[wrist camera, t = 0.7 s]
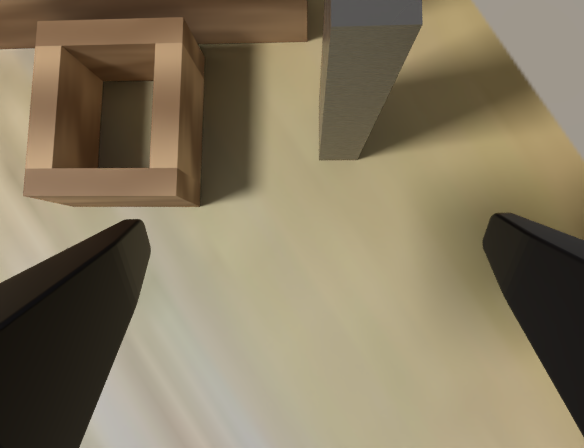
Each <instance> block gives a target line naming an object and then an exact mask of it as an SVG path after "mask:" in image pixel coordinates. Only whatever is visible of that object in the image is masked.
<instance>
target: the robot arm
mask: <svg viewBox="0 0 584 448" xmlns="http://www.w3.org/2000/svg"><path fill="white" fill-rule="evenodd" d="M483 249H484V251H485V254H486V256H487V258H488V261H489V263H490V265H491V268H492V270H493V273H494V275H495V277H496V280H497V282H498V284H499V287H500V289H501V291H502V293H503V295H504V297H505V299H506V301H507V303H508V305H509V307H510V308H511V310H512V312H513V314H514V315H515V317H516V319H517V321H518V322H519V324H520V326H521V328H522V329H523V331H524V333H525V335H526V336H527V338H528V340H529V342H530V343H531V345H532V347H533V349H534V351H535V352H536V354H537V356H538V358H539V359H540V361H541V363H542V365H543V366H544V368H545V370H546V372H547V373H548V375H549V377H550V379H551V380H552V382H553V384H554V386H555V387H556V389H557V391H558V393H559V394H560V396H561V398H562V400H563V401H564V403H565V405H566V407H567V409H568V410H569V412H570V414H571V416H572V417H573V419H574V421H575V423H576V424H577V426H578V428H579V430H580V431H581V433H582V435H583V437H584V240H581V239H579V238H576V237H573V236H571V235H568V234H565V233H563V232H560V231H557V230H555V229H552V228H550V227H547V226H544V225H542V224H539V223H536V222H534V221H531V220H529V219H526V218H523V217H521V216H518V215H515V214H513V213H495V214H493V215H492V216H491V218H490V220H489V223H488V226H487V229H486V232H485V235H484V238H483ZM150 252H151V248H150V243H149V239H148V236H147V232H146V229H145V225H144V223H143V221H142V220H140V219H126V220H123V221H121V222H119V223H117V224H115V225H113V226H111V227H109V228H107V229H105V230H103V231H101V232H99V233H97V234H95V235H94V236H92V237H90V238H88V239H86V240H84V241H82V242H80V243H78V244H76V245H74V246H72V247H70V248H68V249H66V250H64V251H62V252H60V253H58V254H56V255H54V256H52V257H50V258H48V259H46V260H45V261H43V262H41V263H39V264H37V265H35V266H33V267H31V268H29V269H27V270H25V271H23V272H21V273H19V274H17V275H15V276H13V277H11V278H9V279H7V280H5V281H3V282H1V283H0V448H79V447H80V444H81V442H82V439H83V437H84V435H85V432H86V430H87V427H88V425H89V422H90V420H91V417H92V415H93V412H94V410H95V407H96V405H97V402H98V400H99V397H100V395H101V392H102V390H103V387H104V385H105V382H106V380H107V377H108V375H109V373H110V370H111V368H112V365H113V363H114V360H115V358H116V355H117V353H118V350H119V348H120V345H121V343H122V340H123V338H124V335H125V333H126V330H127V328H128V325H129V323H130V320H131V318H132V316H133V313H134V310H135V308H136V305H137V302H138V299H139V295H140V291H141V288H142V284H143V280H144V276H145V273H146V269H147V265H148V261H149V258H150Z"/></svg>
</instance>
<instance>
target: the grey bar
mask: <svg viewBox="0 0 584 448" xmlns="http://www.w3.org/2000/svg"><path fill="white" fill-rule="evenodd" d="M421 26H422V0H325V5H324V23H323V41H322V59H321V77H320V95H319V160H357V159H358V157H359V155H360V153H361V151H362V149H363V147H364V145H365V143H366V141H367V139H368V136H369V134H370V132H371V130H372V128H373V126H374V124H375V122H376V120H377V118H378V116H379V114H380V112H381V109H382V107H383V105H384V103H385V101H386V99H387V97H388V95H389V93H390V91H391V89H392V87H393V84H394V82H395V80H396V78H397V76H398V74H399V72H400V70H401V68H402V66H403V64H404V62H405V60H406V57H407V55H408V53H409V51H410V49H411V47H412V45H413V43H414V41H415V39H416V37H417V35H418V33H419V30H420V28H421Z"/></svg>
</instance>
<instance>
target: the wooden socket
mask: <svg viewBox="0 0 584 448" xmlns="http://www.w3.org/2000/svg"><path fill="white" fill-rule="evenodd" d="M303 41H307V0H0V49H10V48H35V57H34V69H33V81H32V93H31V105H30V118H29V130H28V142H27V154H26V166H25V178H24V190H23V196H26V197H31V198H35V199H40V200H45V201H49V202H54V203H59V204H63V205H68V206H73V207H200V189H201V160H202V130H203V101H204V71H205V57H204V55H203V53H202V52H201V50H200V48H199V46H198V44H219V43H261V42H303ZM103 81H154V85H153V106H152V126H151V147H150V168H98V157H99V141H100V125H101V108H102V92H103Z"/></svg>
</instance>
